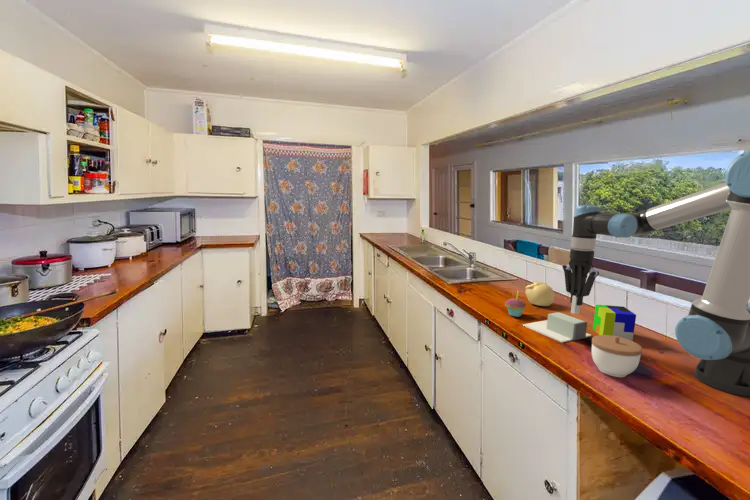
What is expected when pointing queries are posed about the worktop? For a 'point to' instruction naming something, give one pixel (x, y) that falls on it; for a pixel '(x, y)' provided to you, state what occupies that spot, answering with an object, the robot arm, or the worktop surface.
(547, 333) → the board
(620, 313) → the puzzle toy
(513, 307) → the cupcake
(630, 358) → the lidded bowl
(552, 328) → the sage block
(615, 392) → the worktop surface
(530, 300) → the sculpture
